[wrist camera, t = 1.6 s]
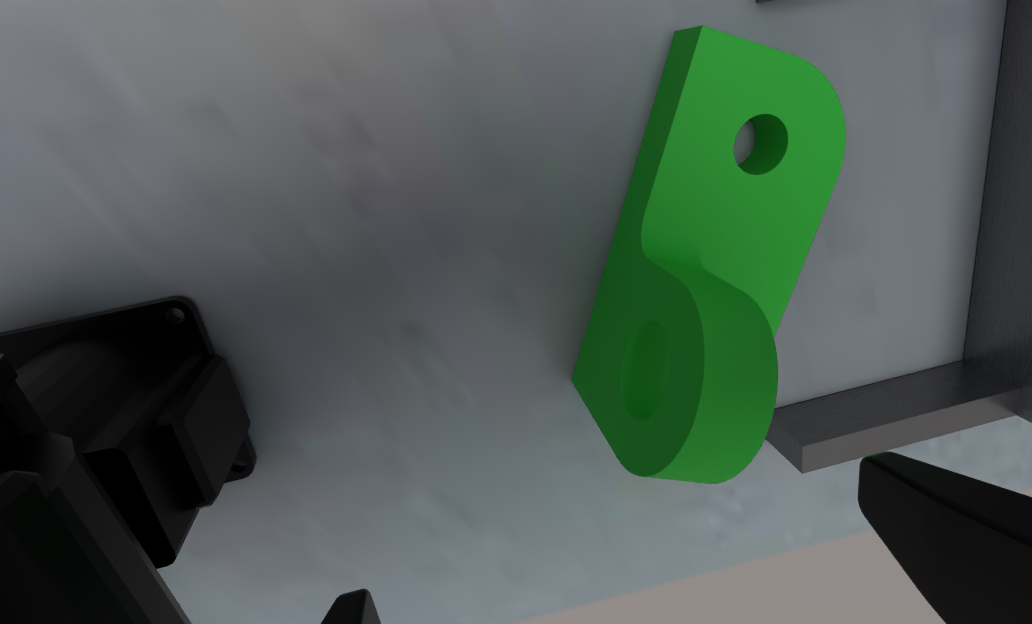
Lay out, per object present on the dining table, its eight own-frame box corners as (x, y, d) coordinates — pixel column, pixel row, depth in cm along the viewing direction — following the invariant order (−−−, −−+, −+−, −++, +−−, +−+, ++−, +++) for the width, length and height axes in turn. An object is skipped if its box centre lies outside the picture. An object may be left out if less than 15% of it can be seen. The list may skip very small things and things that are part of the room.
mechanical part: (711, 399, 23) (855, 540, 16) (569, 378, 22) (656, 523, 15) (831, 82, 20) (1086, 76, 13) (672, 32, 18) (855, -9, 11)
